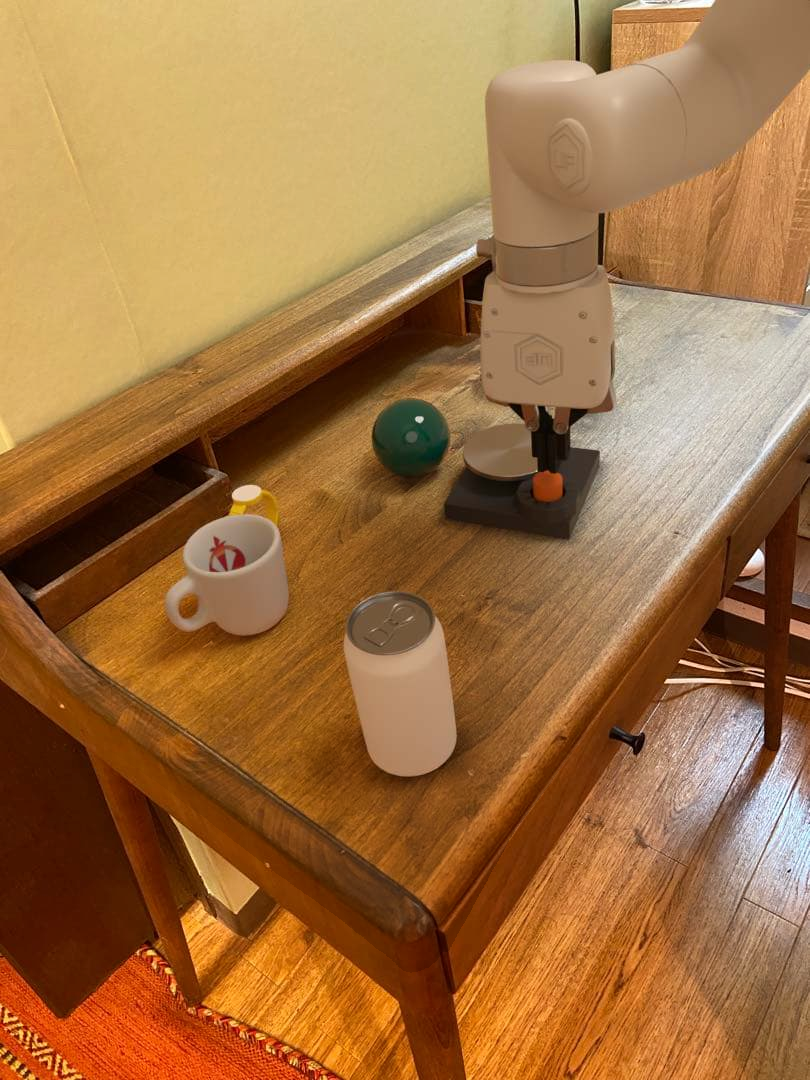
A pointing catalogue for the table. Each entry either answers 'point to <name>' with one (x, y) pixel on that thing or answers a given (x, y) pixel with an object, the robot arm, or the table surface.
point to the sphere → (410, 438)
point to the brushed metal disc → (501, 453)
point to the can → (401, 682)
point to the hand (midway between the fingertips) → (551, 464)
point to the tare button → (547, 486)
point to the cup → (233, 576)
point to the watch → (254, 501)
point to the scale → (525, 499)
